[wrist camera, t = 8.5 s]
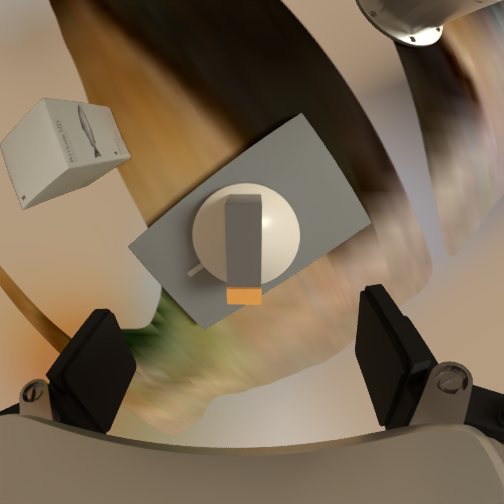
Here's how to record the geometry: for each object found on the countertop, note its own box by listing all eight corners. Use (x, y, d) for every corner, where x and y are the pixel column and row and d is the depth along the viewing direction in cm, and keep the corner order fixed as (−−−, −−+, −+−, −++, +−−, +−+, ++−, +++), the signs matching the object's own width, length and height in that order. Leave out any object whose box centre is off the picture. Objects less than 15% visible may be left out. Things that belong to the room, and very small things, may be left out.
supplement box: (133, 158, 29) (69, 171, 17) (87, 186, 30) (20, 213, 19) (111, 104, 27) (43, 95, 15) (67, 136, 28) (-4, 145, 16)
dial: (191, 183, 28) (174, 195, 22) (300, 183, 28) (312, 194, 22) (198, 280, 32) (186, 312, 26) (295, 281, 32) (303, 313, 26)
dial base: (298, 114, 27) (301, 112, 25) (366, 219, 32) (373, 225, 29) (134, 240, 33) (127, 247, 31) (207, 322, 37) (205, 332, 35)
